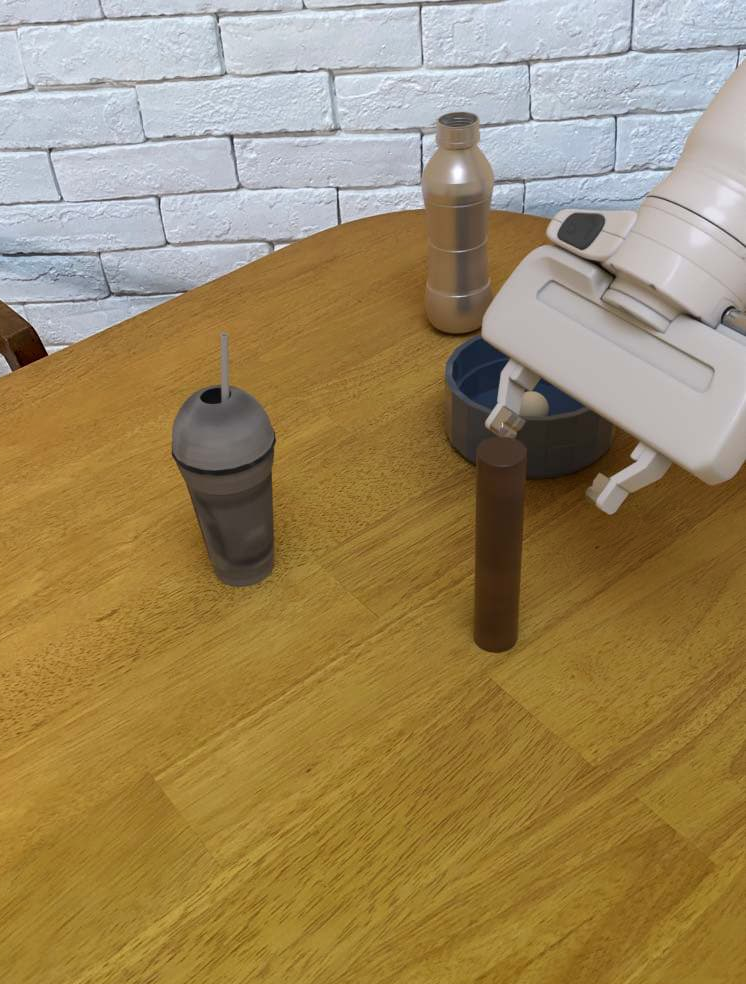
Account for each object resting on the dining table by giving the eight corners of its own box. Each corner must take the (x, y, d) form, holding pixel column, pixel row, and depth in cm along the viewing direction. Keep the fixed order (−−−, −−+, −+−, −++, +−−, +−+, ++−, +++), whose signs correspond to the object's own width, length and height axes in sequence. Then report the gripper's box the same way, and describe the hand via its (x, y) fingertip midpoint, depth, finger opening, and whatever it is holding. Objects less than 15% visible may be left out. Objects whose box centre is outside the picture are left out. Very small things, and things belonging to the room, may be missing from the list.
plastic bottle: (506, 325, 109) (513, 119, 96) (451, 350, 106) (450, 141, 93) (464, 300, 113) (465, 99, 100) (410, 323, 110) (403, 119, 97)
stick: (509, 617, 79) (517, 432, 69) (523, 648, 77) (533, 461, 67) (468, 626, 79) (470, 440, 68) (480, 656, 77) (484, 469, 66)
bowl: (579, 372, 102) (584, 313, 98) (642, 464, 91) (650, 402, 87) (427, 398, 100) (426, 340, 97) (472, 495, 90) (473, 433, 86)
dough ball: (541, 411, 97) (542, 381, 95) (552, 431, 95) (554, 401, 93) (507, 417, 96) (508, 387, 94) (518, 437, 94) (519, 407, 92)
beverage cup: (202, 535, 88) (158, 309, 75) (294, 532, 88) (266, 304, 75) (189, 600, 83) (140, 368, 70) (288, 598, 82) (257, 364, 69)
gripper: (836, 371, 64) (689, 569, 67) (586, 245, 77) (471, 414, 80) (799, 328, 59) (642, 542, 62) (540, 201, 73) (420, 382, 75)
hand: (544, 469), depth 71 cm, fingers open, 8 cm apart
